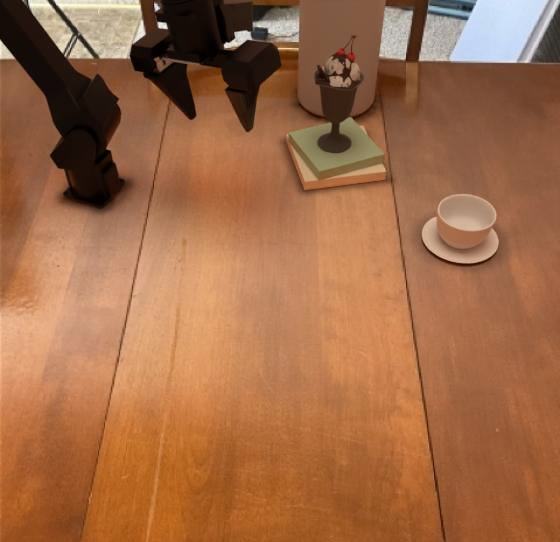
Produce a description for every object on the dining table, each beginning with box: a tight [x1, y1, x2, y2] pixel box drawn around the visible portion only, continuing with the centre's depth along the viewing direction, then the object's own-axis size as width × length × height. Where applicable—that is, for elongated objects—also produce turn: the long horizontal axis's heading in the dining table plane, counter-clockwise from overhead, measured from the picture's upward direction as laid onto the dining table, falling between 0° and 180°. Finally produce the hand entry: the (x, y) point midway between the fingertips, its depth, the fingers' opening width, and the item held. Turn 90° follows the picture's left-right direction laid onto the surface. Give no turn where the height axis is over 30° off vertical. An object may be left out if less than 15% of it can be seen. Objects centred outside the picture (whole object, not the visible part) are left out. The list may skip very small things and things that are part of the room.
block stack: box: [286, 117, 387, 191], centre depth 99 cm, size 12×12×3 cm
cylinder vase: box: [297, 0, 387, 118], centre depth 101 cm, size 12×12×25 cm
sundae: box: [314, 35, 364, 153], centre depth 92 cm, size 7×7×15 cm
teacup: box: [421, 193, 499, 264], centre depth 88 cm, size 10×10×5 cm
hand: (220, 124), depth 85 cm, fingers open, 9 cm apart
